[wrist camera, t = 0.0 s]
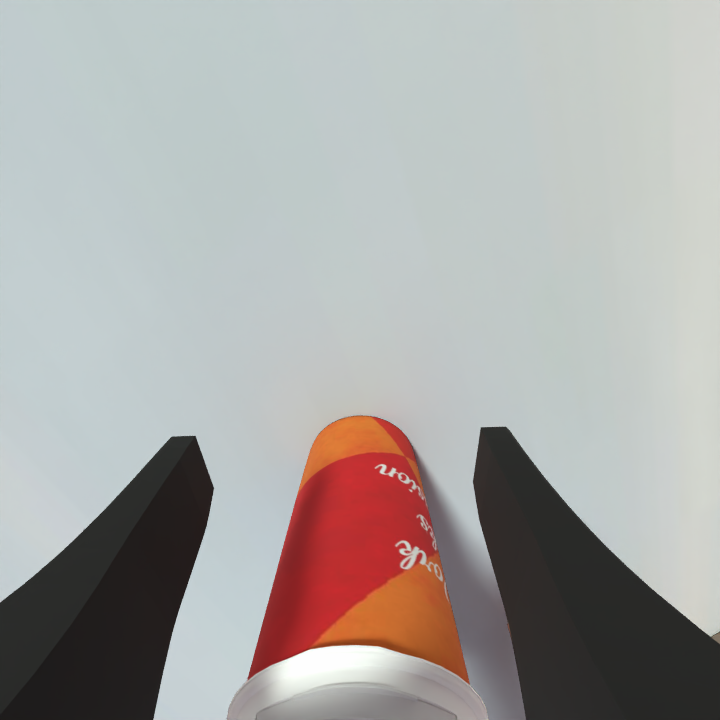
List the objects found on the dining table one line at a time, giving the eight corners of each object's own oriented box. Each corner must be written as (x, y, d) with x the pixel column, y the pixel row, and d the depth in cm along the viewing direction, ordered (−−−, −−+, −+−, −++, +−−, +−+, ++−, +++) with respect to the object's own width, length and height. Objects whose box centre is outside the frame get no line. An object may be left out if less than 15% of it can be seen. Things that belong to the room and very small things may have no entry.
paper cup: (429, 512, 27) (484, 849, 14) (295, 512, 27) (234, 845, 15) (438, 394, 23) (520, 703, 11) (284, 394, 24) (190, 700, 11)
